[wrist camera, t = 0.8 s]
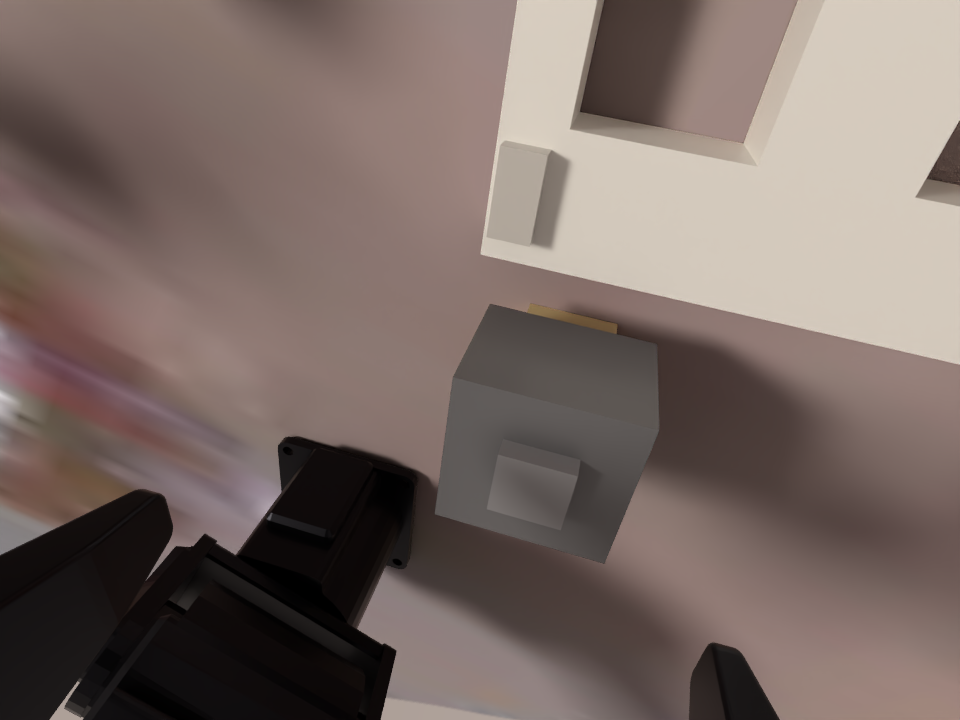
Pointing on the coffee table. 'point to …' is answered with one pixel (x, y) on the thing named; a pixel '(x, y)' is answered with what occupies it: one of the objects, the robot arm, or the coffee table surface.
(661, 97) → the coffee table surface
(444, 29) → the coffee table surface
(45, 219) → the coffee table surface
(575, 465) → the plug
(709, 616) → the coffee table surface
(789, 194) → the socket
